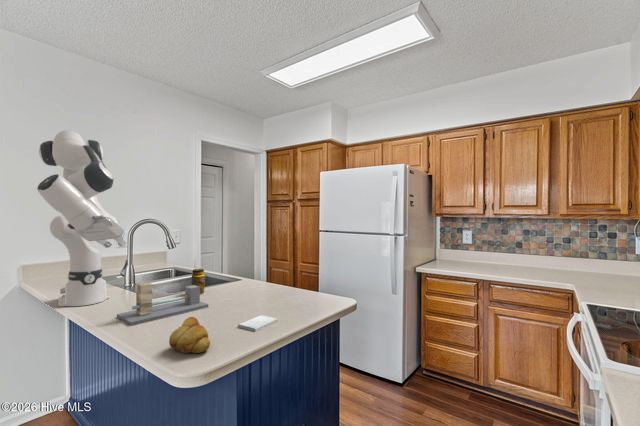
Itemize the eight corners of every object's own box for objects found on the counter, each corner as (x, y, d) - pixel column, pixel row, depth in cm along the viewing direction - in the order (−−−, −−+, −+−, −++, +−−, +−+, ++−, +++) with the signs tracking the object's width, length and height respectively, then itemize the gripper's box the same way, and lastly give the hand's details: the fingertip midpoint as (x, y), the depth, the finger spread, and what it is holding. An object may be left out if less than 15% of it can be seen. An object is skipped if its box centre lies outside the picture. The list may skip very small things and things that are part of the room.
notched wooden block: (136, 312, 121) (136, 283, 121) (147, 310, 124) (147, 282, 124) (140, 315, 118) (141, 285, 118) (151, 312, 121) (152, 283, 121)
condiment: (206, 294, 155) (206, 269, 155) (188, 296, 151) (188, 271, 151) (203, 291, 162) (203, 267, 162) (185, 293, 157) (185, 269, 157)
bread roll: (217, 349, 93) (217, 322, 93) (186, 361, 85) (186, 332, 85) (193, 338, 100) (194, 313, 101) (163, 348, 93) (163, 321, 93)
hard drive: (255, 328, 107) (277, 318, 118) (237, 324, 111) (260, 314, 122) (255, 333, 107) (277, 322, 118) (237, 328, 111) (260, 318, 122)
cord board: (116, 317, 120) (117, 295, 120) (191, 301, 143) (192, 282, 143) (130, 325, 111) (131, 302, 111) (208, 307, 134) (208, 287, 134)
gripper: (110, 208, 104) (139, 237, 112) (79, 214, 114) (108, 241, 122) (95, 221, 100) (126, 251, 108) (64, 226, 110) (95, 253, 117)
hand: (116, 245), depth 115 cm, fingers open, 8 cm apart
